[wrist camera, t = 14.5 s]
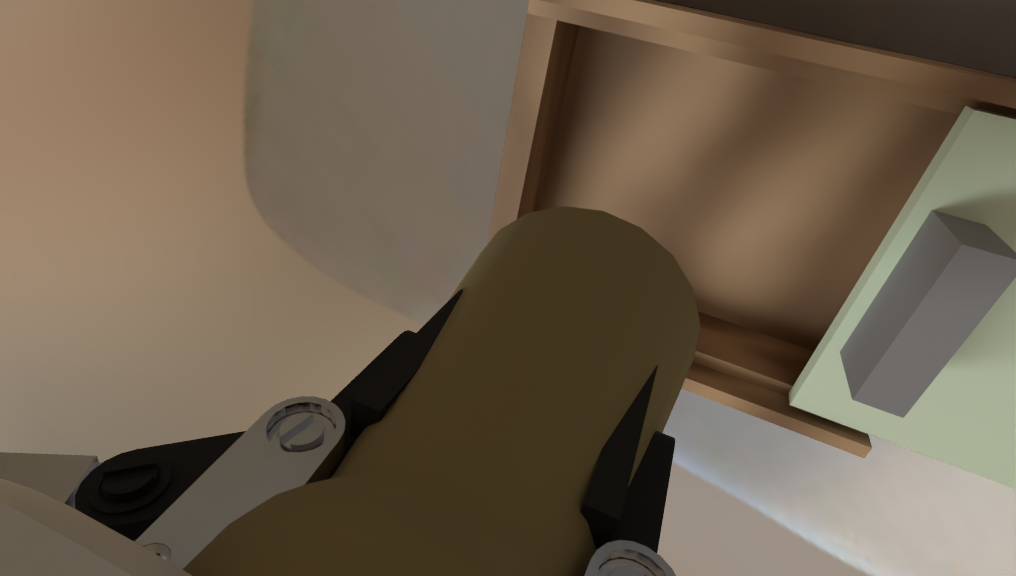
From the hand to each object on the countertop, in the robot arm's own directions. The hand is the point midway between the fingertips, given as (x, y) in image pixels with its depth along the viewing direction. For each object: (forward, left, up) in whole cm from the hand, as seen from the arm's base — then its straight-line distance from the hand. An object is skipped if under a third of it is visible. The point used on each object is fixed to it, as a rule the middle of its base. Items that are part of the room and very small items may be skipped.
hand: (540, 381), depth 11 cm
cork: (0, 0, -3) cm, 3 cm away
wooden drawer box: (-3, 0, -17) cm, 17 cm away
